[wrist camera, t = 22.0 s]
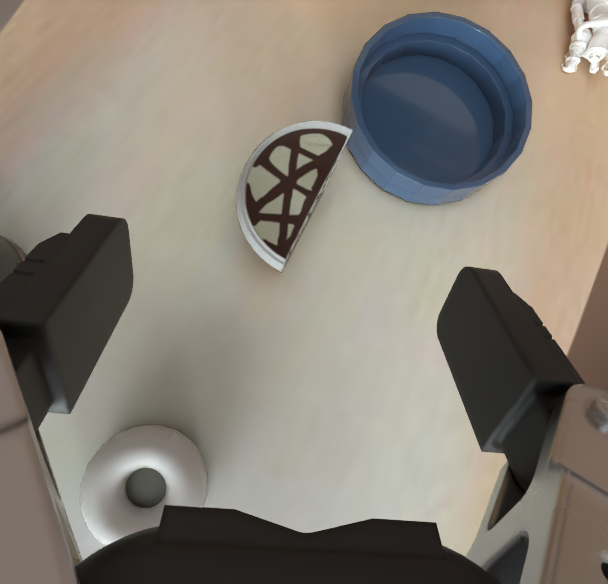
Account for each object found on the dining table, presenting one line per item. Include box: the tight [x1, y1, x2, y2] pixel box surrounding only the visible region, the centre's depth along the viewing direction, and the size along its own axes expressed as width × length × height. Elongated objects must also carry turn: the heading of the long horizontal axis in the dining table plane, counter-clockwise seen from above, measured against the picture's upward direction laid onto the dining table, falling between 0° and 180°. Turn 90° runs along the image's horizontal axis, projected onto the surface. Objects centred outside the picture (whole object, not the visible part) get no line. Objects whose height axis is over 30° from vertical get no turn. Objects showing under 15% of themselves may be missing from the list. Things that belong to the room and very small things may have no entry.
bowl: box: [342, 12, 532, 205], centre depth 41 cm, size 18×18×4 cm
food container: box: [236, 121, 353, 272], centre depth 35 cm, size 12×6×10 cm, turn 154°
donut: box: [80, 425, 207, 546], centre depth 34 cm, size 10×4×10 cm
